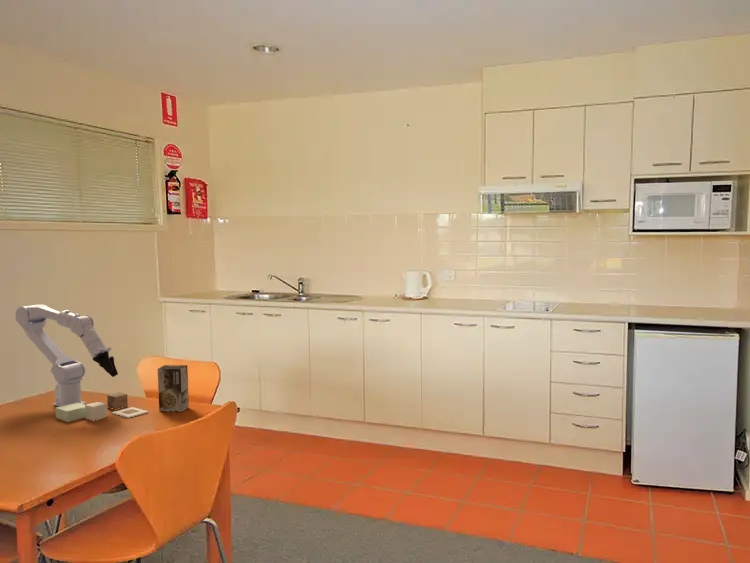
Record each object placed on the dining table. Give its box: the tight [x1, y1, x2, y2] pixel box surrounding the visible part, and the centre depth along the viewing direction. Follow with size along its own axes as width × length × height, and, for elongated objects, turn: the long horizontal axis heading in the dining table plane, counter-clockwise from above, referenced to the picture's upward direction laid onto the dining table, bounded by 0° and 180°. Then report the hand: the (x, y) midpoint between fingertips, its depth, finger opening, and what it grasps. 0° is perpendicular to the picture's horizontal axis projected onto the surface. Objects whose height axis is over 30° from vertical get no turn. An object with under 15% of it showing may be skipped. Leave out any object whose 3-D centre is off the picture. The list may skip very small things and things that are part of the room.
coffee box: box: [157, 364, 190, 413], centre depth 219 cm, size 9×6×16 cm
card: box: [111, 406, 149, 419], centre depth 214 cm, size 10×8×1 cm
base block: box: [55, 403, 86, 423], centre depth 210 cm, size 8×8×4 cm
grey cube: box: [84, 401, 108, 422], centre depth 209 cm, size 5×5×5 cm
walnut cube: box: [106, 391, 129, 410], centre depth 222 cm, size 5×5×5 cm
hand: (113, 373), depth 217 cm, fingers open, 7 cm apart
